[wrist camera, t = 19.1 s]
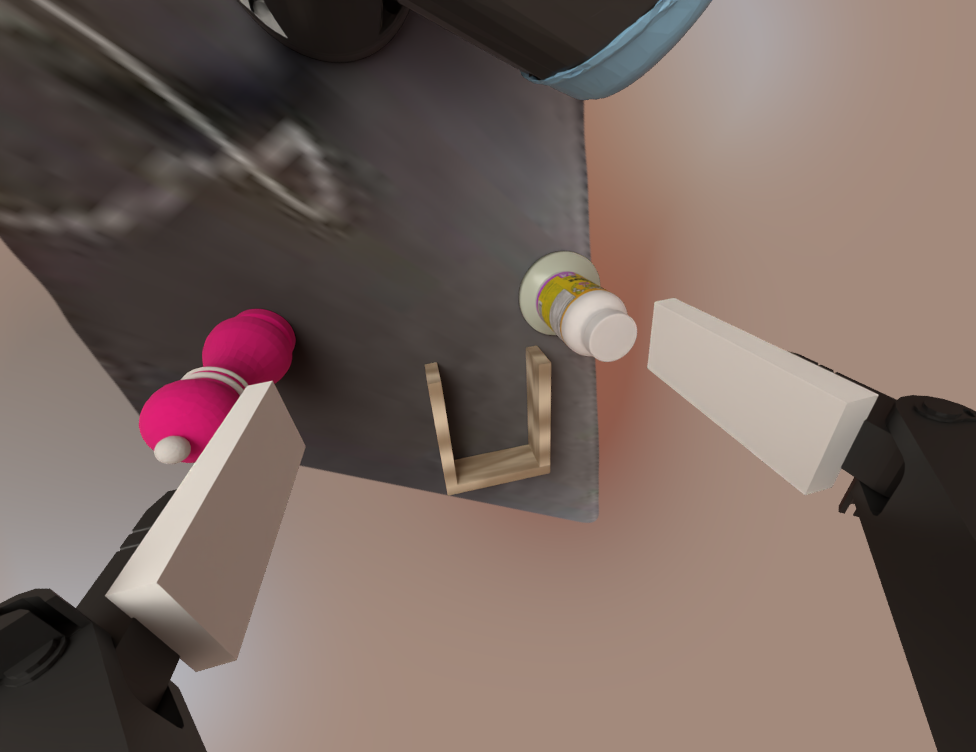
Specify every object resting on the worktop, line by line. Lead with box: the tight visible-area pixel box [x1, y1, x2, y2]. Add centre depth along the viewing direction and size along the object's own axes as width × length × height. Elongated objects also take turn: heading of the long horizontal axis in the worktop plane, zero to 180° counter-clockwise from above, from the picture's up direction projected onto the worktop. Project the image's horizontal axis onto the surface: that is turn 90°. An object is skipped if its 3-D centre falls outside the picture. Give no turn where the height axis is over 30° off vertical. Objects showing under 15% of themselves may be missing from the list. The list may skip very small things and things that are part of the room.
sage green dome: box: [519, 251, 600, 335], centre depth 44 cm, size 10×10×1 cm
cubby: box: [425, 346, 551, 495], centre depth 49 cm, size 18×14×5 cm
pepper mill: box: [139, 309, 296, 464], centre depth 31 cm, size 7×7×20 cm
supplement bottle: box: [535, 271, 637, 362], centre depth 39 cm, size 7×7×13 cm
